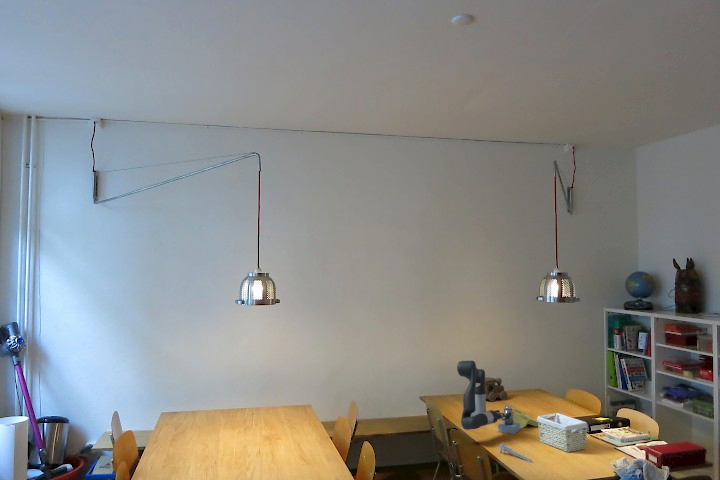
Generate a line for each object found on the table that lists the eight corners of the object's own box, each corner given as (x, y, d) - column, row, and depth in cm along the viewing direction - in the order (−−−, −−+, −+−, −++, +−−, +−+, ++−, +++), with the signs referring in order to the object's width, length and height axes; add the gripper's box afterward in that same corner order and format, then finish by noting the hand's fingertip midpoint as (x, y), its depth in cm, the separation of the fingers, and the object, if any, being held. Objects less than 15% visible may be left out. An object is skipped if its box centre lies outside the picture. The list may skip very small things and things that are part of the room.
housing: (503, 424, 330) (502, 406, 331) (506, 422, 334) (505, 404, 335) (511, 425, 327) (510, 407, 328) (514, 423, 331) (513, 405, 332)
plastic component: (540, 423, 336) (527, 417, 334) (536, 434, 336) (523, 428, 334) (524, 413, 356) (512, 407, 354) (520, 423, 355) (507, 418, 353)
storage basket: (536, 441, 309) (535, 415, 310) (558, 437, 315) (557, 412, 316) (567, 454, 287) (565, 426, 288) (590, 449, 293) (588, 422, 294)
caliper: (499, 453, 291) (499, 441, 291) (500, 453, 292) (500, 441, 292) (532, 463, 275) (531, 450, 275) (533, 462, 276) (533, 450, 276)
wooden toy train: (487, 403, 401) (486, 380, 402) (478, 399, 411) (477, 378, 412) (509, 399, 408) (508, 378, 409) (500, 396, 419) (499, 375, 420)
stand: (498, 431, 329) (498, 424, 330) (504, 427, 337) (504, 421, 338) (514, 434, 324) (513, 427, 324) (519, 429, 332) (519, 423, 332)
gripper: (497, 413, 313) (514, 408, 323) (478, 409, 324) (495, 404, 334) (498, 426, 313) (514, 421, 323) (478, 421, 324) (495, 416, 334)
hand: (504, 412), depth 329 cm, fingers open, 8 cm apart
